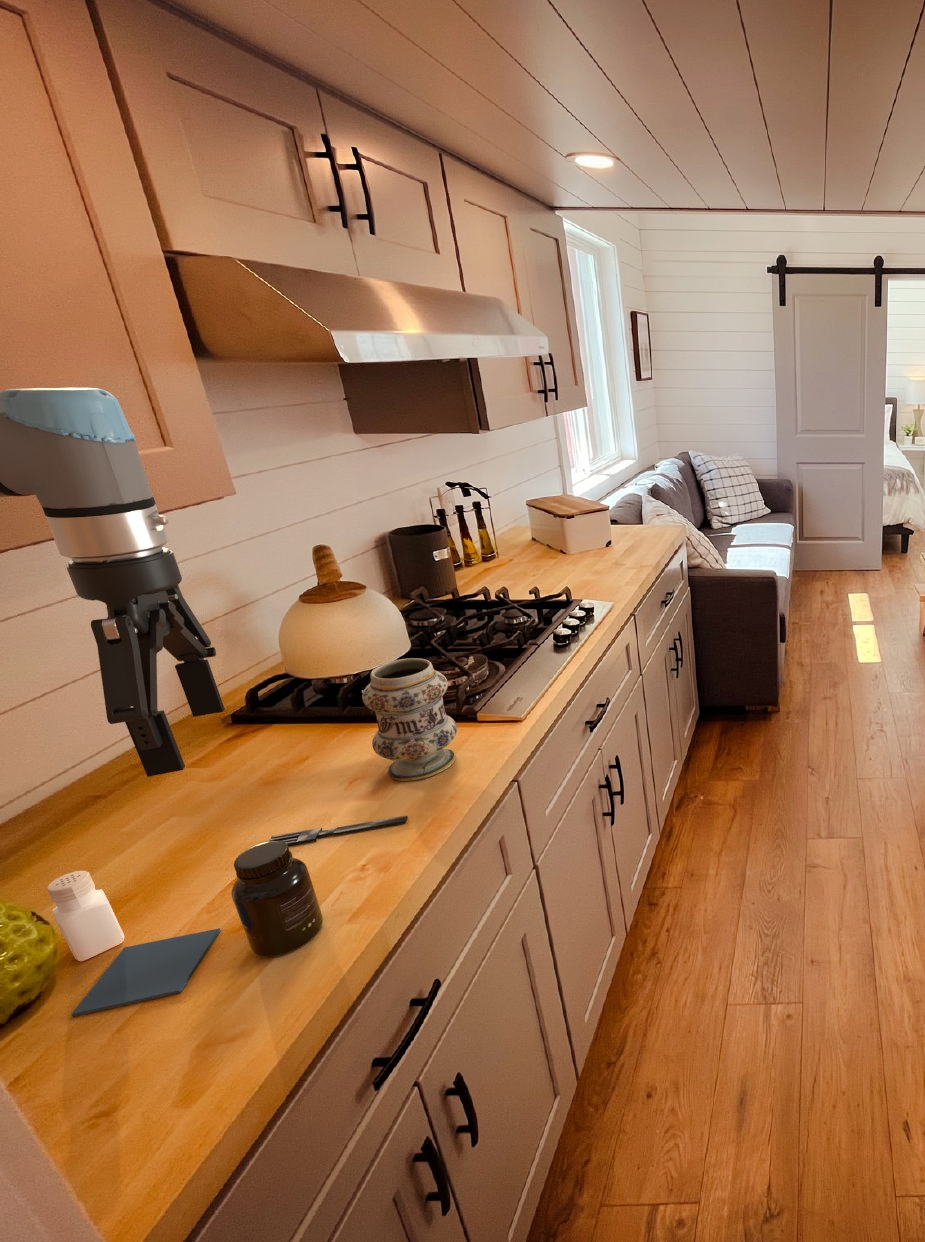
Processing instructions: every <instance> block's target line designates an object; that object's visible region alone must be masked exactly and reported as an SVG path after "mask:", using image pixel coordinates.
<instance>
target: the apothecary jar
mask: <svg viewBox="0 0 925 1242" xmlns="http://www.w3.org/2000/svg"><path fill="white" fill-rule="evenodd" d="M448 686H449V682H448V679H447V678H446V676H445V675H444V674H442V673H441V672H440V671H438V670H435V668H434V665H433V664H432V662H431V661H429V660H427V659H424V658H417V657H416V658H415V657H414V658H413V657H411V658H409V657H408V658H402V659H395V660H391V661H388V662H385V663H382V664H380V665H378V666H376V667H374V668H373V669H372V670H371V671H370V683H368V685H366V687H365V688H364V690H363V691H362V696H361V699H362V702H363V704H364V706H365V707H366V708H367V709H369V710H372V711H374V713H375V717H376V723H377V728H378V729H377V730H376V732H375V734H374V735H373V738H372V742H371V746H372V749H373V751H374V753H375V754H376V755H377V756H379V757H380V758H384V759H387V760H389V761H393V762H392V764H391V765H390V766H389V768H388V770H387V774H388V776H389V777H390V779H392V780H395V781H399V782H411V781H413V782H414V781H420V780H425V779H427V778H430V777H433V776H436V775H438V774H440V773H442V772H444V771H445V770H447V769H449V768H450V767H451V766H452V765H453V764H454V762H455V761H456V757H457V756H456V753H455V752H454V750H452V749H448V748H447V747H448V746H449V745H450V744H451V743H452V742H453V741H454V739H455V737H456V736H457V732H458V726H457V725H458V724H457V723H456V721H455V720H454V719H453V718H452V717H451V716H450V715H448V714H447V712H446V709H445V704H444V699H443V696H444V695H445V694H446V692H447V690H448Z"/></svg>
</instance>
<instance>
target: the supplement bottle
mask: <svg viewBox="0 0 925 1242" xmlns="http://www.w3.org/2000/svg"><path fill="white" fill-rule="evenodd" d="M233 862H234V863H233V867H234V871H235V875H236V878H237V880H236V881H235V883H234V884H233V886H232V889H231V898H232V901H233V904H234V906H235V909H236V913H237V915H238V917H239V920H240V922H241V925H242V928H243V930H244V934H245V937H246V939H247V942H248V944H249V946H250V949H251V950H252V952H253V953H254V954H256V955H257V956H260V957H264V958H265V957H266V958H269V957H270V958H273V957H279V956H284V955H286V954H289V953H292V952H294V951H296V950H298V949H300V948H301V947H304V946H305V945H306V944H308V943H309V942H310V941H312V939H313V938H315V937H316V936H317V935H318V933H319V932H320V931H321V929H322V927H323V923H324V917H323V913H322V910H321V907H320V904H319V900H318V898H317V893H316V892H315V888H314V885H313V882H312V879H311V876H310V871H309V869H308V867H307V865H306V863H305V862H303V861H302V860H301V859H299V858H296V857H293V854H292V852H291V851H290V847H289V846H288V845H287V844H286V843H285V842H283V841H270V842H269V841H267V842H266V841H265V842H261V843H259V844H256V845H253V846H252V847H249V848H247V849H246V850H244V851H243V852H241V853H240V854H239V855H238V856H237V857H236V858H235V860H234V861H233Z"/></svg>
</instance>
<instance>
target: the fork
mask: <svg viewBox="0 0 925 1242" xmlns="http://www.w3.org/2000/svg"><path fill="white" fill-rule="evenodd" d="M408 818H409V817H408V815H402V816H396V817H391V818H384V819H379V820H378V819H377V820H371V821H367V822H360V823H355V824H350V825H348V824H347V825H343V826H337V827H335V828H329V829H324V830H323V828H322V827H318V828H312V829H306V830H300V831H293V832H288V833H282V834H276V835H271V837H270V839H269V840H268V842H270V841H283V842H285V843H286V844H287V845H288V847H292V846H293V847H294V846H298V845H304V844H309V843H310V844H311V843H315V842H317V841H318V840H319V839H320V838H325V837H326V838H327V837H333V836H334V837H336V836H343V835H349V834H354V833H360V832H366V831H371V830H377V829H382V828H383V829H384V828H387V827H388V828H389V827H393V826H399V825H405V824H406V823H407V821H408Z"/></svg>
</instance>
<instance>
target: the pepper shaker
mask: <svg viewBox="0 0 925 1242" xmlns="http://www.w3.org/2000/svg"><path fill="white" fill-rule="evenodd" d="M47 885H48V886H47V887H46V890H47V892H48V895H49V896H50V898H51V901H52V902H53V904H55V905H56V906H55V907H54V908H53V909H51V913H52V915H53V917H54V919H55V922H56V923H57V926H58V928H59V930H60V932H61V934H62V936H63V938H64V940H65V942H66V943H67V945H68V947H69V950H70V952H71V954H72V956H73V957H74V959H75V960H76V961H78V962H84V961H87V960H89V959H91V958H94V957H96V956H97V955H100V954H102V953H103V952H106V951H108V950H111V949H113V948H115V947H116V946H119V945H120V944H122V943H123V942H124V941H125V937H126V936H125V934H124V932H123V929H122V927H121V925H120V923H119V921H118V919H117V917H116V914H115V912H114V910H113V908H112V905H111V904H110V901H109V900H108V897H107V896H106V894H105V892H104V890H103V889H101V888H100V889H96V885H95V883H94V881H93V878H92V876H91V873H90V872H89V871H86V870H76V871H72V872H68V873H66V874H63V875H61V876H59V877H57V878H55V879H54V880H53V881H51V882H50V883H48V884H47Z"/></svg>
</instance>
